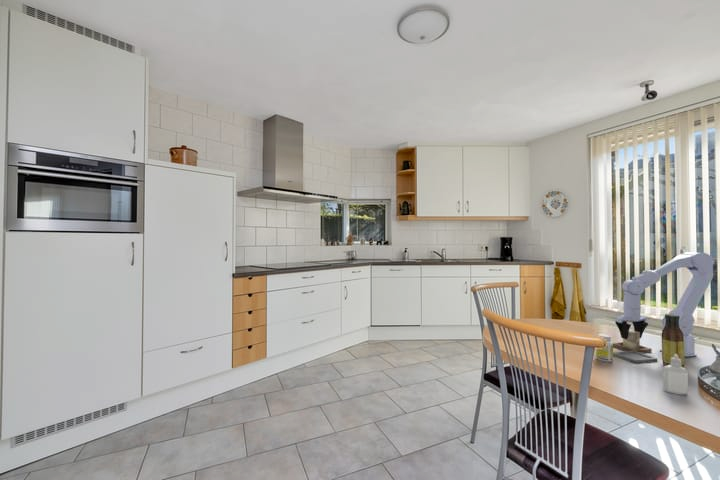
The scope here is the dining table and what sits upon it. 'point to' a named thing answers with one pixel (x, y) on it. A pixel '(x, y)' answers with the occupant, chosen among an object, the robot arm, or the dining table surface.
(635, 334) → the peg
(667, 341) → the sauce bottle
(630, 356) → the tray
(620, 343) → the holder
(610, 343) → the supplement bottle
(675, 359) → the eye dropper bottle
